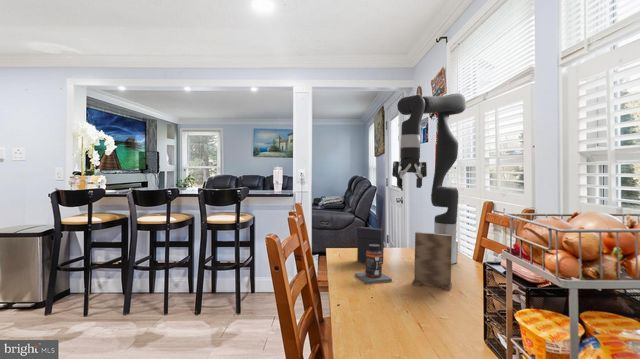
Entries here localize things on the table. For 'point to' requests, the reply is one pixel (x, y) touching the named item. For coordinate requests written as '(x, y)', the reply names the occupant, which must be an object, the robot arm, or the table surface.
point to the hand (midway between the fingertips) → (409, 187)
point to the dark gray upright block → (368, 241)
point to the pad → (372, 278)
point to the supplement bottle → (374, 261)
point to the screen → (433, 260)
